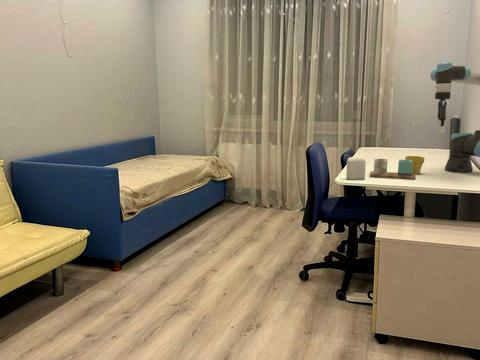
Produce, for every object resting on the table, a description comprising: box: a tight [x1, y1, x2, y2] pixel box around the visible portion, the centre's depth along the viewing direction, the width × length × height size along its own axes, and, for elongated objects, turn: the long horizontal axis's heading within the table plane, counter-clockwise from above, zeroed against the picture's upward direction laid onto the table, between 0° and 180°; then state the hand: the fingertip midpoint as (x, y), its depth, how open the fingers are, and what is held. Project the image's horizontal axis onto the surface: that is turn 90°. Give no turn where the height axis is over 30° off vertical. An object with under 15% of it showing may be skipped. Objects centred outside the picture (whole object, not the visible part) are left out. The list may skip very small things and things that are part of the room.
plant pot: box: [404, 155, 425, 175], centre depth 257 cm, size 10×10×10 cm
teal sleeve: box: [397, 159, 413, 176], centre depth 244 cm, size 7×7×8 cm
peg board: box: [369, 157, 417, 181], centre depth 246 cm, size 24×12×10 cm, turn 71°
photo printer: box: [345, 156, 367, 180], centre depth 238 cm, size 10×4×12 cm, turn 96°
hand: (440, 131), depth 240 cm, fingers open, 13 cm apart
